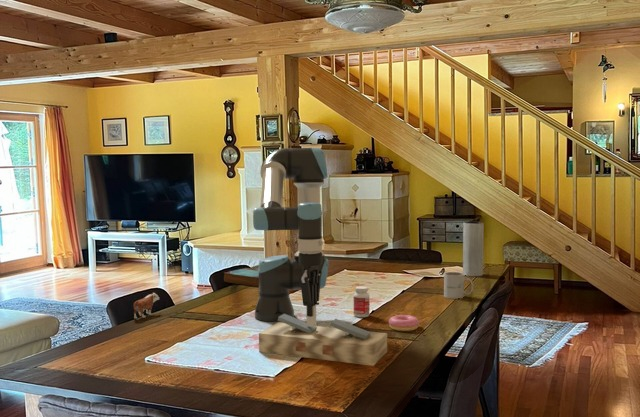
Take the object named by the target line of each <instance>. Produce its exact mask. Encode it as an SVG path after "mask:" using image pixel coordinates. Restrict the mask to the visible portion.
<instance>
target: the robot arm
mask: <svg viewBox="0 0 640 417" xmlns="http://www.w3.org/2000/svg"><path fill="white" fill-rule="evenodd" d="M260 178H261V179H262V180H261V181H262V183H261V184H262V185H261V192H260V193H261V195H260V207H255V208H254V209H253V210H252V223H253V224H252V225H253V228H254V230H256V231H265V232H266V231H267V232H268V231H297V246H298V248H297V251H296V252H295V253H294V255H293V256H294V258H290V257H289V255H288V254H279V255H272V256H268V257H264V258H262V259H260V261H259V262H258V269H259V271H258V273H259V287H258V299H257V303H256V306H255V310H254V318H255V320H258V321H263V322H279V321H278V317H279V316H281V315H283V314H287V315H289V316H291V317H294V318H295V309H294V306H293V303H292V300H291V298H290V290H291V291H292V290H301V299H302V305H303V306H304V307H305V308H306V323H307V326H313V327H315V326H317V306H319V305H320V302H319V301H320V292H321V291H320V290H322V289H324V288H325V286H326V284H327V280H328V279H327V278H328V271H329V259H328V258H325V253H324V252H323V245H324V241H323V210H322V204H321V187H322V186H323V185H324V182H325V179H327V178H328V169H327V161H326V155H325V152H324V150H323V149H322V148H320V147H294V148H293V147H291V148H288V147H286V148H285V147H284V148H279V149H277V150H275V151H273V152H272V153H270V154H269V155H268V156H267V157H266V158H265V159H264V160H263V162H262V164H261V166H260ZM286 179H289V180H292V179H293V185H294V186H295V187H296V188H297V206H294V207H293V206H283V205H284V181H285V180H286Z"/></svg>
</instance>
